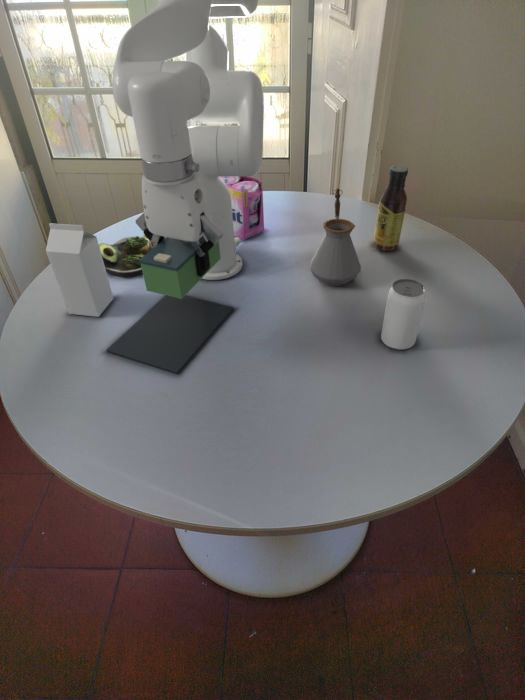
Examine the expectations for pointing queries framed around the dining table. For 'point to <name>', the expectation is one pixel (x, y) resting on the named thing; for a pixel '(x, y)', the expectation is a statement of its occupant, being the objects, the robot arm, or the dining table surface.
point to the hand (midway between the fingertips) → (184, 267)
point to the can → (403, 314)
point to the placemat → (171, 332)
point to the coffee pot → (336, 252)
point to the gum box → (246, 205)
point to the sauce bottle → (391, 210)
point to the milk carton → (79, 269)
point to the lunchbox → (174, 266)
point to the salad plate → (125, 255)
